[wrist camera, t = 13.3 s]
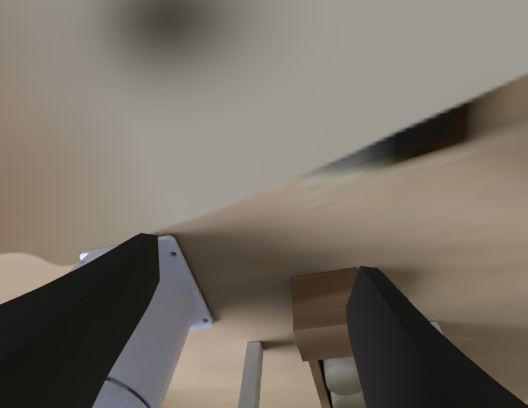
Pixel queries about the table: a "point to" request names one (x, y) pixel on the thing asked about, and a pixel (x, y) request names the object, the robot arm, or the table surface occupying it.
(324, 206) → the table surface
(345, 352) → the wooden slotted rack
